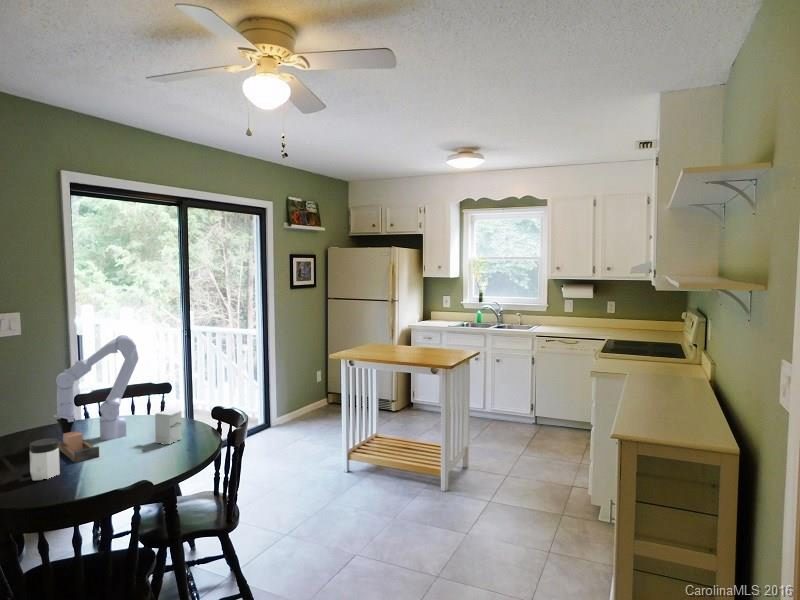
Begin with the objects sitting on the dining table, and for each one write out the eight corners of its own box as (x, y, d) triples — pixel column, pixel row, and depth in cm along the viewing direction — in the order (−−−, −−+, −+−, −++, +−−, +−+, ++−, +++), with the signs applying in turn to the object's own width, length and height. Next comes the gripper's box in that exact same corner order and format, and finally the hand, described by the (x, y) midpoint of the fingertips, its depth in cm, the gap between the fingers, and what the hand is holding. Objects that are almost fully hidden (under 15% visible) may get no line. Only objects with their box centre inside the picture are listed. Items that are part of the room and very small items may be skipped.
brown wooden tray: (86, 444, 211) (85, 432, 210) (105, 458, 196) (104, 445, 196) (51, 452, 202) (51, 439, 201) (68, 467, 187) (68, 453, 187)
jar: (24, 481, 174) (23, 446, 173) (35, 472, 182) (34, 439, 181) (54, 479, 176) (53, 444, 175) (64, 470, 184) (63, 437, 183)
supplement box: (169, 445, 211) (168, 415, 210) (155, 443, 213) (154, 413, 213) (182, 439, 218) (181, 410, 217) (168, 437, 220) (167, 408, 220)
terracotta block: (77, 445, 207) (77, 430, 206) (82, 449, 203) (82, 434, 202) (63, 448, 203) (63, 433, 203) (68, 452, 199) (67, 437, 199)
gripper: (48, 401, 209) (49, 434, 210) (59, 408, 200) (60, 442, 200) (68, 398, 215) (69, 430, 215) (79, 404, 205) (80, 438, 206)
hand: (66, 435), depth 208 cm, fingers closed
